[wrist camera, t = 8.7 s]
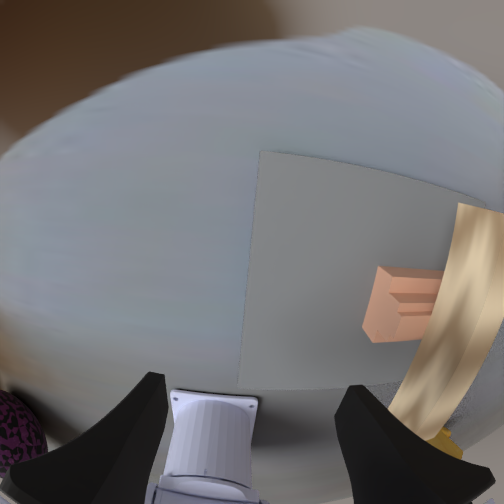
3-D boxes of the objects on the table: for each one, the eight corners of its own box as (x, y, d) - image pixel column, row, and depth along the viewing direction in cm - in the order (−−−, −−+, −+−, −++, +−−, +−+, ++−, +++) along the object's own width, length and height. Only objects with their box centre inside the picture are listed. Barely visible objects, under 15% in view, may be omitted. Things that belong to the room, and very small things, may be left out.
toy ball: (57, 409, 24) (13, 486, 9) (64, 449, 27) (37, 508, 13) (-15, 352, 22) (-66, 406, 7) (2, 404, 25) (-32, 452, 11)
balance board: (425, 369, 22) (450, 401, 17) (237, 379, 21) (236, 428, 16) (477, 200, 18) (520, 211, 12) (259, 152, 17) (266, 141, 11)
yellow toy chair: (368, 465, 28) (383, 509, 20) (390, 432, 26) (413, 482, 17) (420, 448, 29) (439, 485, 20) (445, 413, 26) (472, 453, 17)
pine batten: (414, 405, 17) (434, 437, 13) (386, 411, 16) (404, 447, 13) (484, 211, 12) (528, 224, 8) (458, 202, 12) (506, 214, 8)
